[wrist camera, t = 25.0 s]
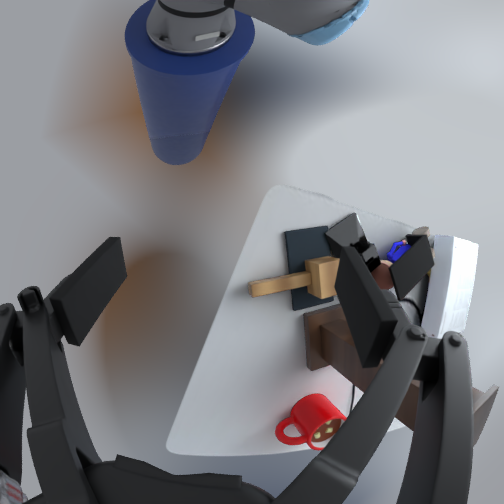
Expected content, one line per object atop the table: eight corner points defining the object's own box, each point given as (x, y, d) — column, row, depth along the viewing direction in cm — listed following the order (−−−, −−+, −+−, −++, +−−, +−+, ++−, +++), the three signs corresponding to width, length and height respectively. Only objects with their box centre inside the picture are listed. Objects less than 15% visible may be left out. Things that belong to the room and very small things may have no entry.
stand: (307, 367, 45) (434, 483, 15) (303, 313, 43) (465, 414, 14) (346, 353, 47) (480, 442, 17) (345, 301, 45) (508, 370, 16)
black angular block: (322, 233, 42) (340, 233, 38) (354, 211, 44) (373, 210, 40) (351, 298, 45) (369, 304, 41) (379, 274, 47) (398, 278, 42)
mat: (284, 231, 41) (285, 231, 41) (325, 225, 43) (327, 225, 42) (292, 310, 43) (294, 311, 42) (331, 299, 45) (333, 300, 44)
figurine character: (403, 224, 49) (359, 264, 44) (435, 222, 42) (394, 267, 37) (412, 253, 51) (370, 297, 46) (443, 255, 44) (404, 304, 39)
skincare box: (460, 242, 55) (434, 233, 48) (478, 243, 50) (457, 235, 43) (446, 327, 56) (417, 337, 49) (463, 332, 51) (438, 344, 44)
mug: (266, 409, 43) (281, 436, 36) (327, 387, 46) (350, 409, 39) (271, 438, 44) (286, 464, 37) (328, 417, 47) (348, 439, 40)
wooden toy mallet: (250, 305, 40) (259, 314, 36) (246, 271, 40) (254, 276, 35) (329, 287, 44) (345, 293, 39) (327, 255, 43) (342, 259, 39)
